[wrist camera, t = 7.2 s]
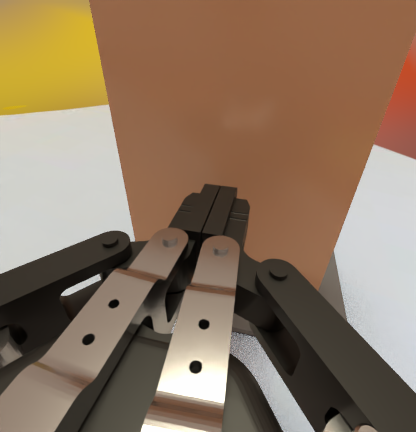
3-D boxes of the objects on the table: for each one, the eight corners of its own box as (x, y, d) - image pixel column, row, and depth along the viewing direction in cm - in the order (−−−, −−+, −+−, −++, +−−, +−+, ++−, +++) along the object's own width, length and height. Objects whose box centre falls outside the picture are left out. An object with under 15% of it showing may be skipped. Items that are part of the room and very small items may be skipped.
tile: (312, 305, 18) (433, -16, 8) (141, 272, 20) (86, -12, 11) (310, 277, 20) (406, -9, 10) (154, 249, 22) (118, -7, 13)
